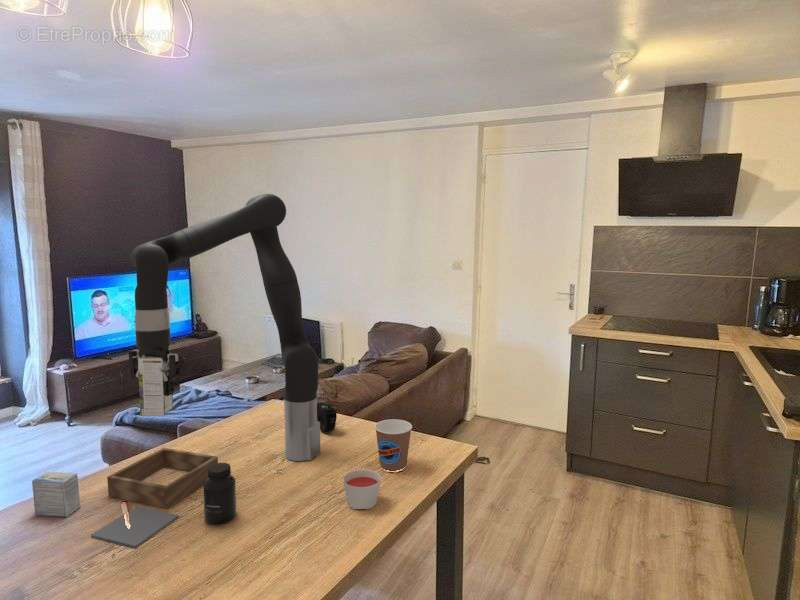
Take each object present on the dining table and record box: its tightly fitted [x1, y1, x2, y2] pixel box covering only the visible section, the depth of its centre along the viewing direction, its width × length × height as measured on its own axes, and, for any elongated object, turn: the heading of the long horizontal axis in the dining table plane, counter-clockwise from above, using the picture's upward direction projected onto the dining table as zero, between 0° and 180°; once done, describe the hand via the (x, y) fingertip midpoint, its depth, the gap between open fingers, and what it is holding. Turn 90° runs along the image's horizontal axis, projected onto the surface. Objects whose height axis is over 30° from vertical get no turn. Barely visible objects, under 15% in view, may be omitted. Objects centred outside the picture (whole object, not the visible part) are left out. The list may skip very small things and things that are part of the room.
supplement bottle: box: [203, 462, 237, 526], centre depth 112 cm, size 7×7×12 cm
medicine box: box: [31, 471, 81, 518], centre depth 114 cm, size 8×4×9 cm, turn 84°
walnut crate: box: [106, 447, 219, 510], centre depth 127 cm, size 18×18×5 cm
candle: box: [342, 468, 382, 510], centre depth 118 cm, size 9×9×6 cm
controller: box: [317, 402, 338, 433], centre depth 163 cm, size 4×12×10 cm, turn 32°
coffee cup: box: [374, 418, 413, 471], centre depth 137 cm, size 10×10×12 cm
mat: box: [90, 505, 180, 549], centre depth 108 cm, size 12×12×1 cm
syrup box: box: [138, 356, 174, 417], centre depth 121 cm, size 6×6×14 cm
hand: (156, 393), depth 122 cm, fingers closed on syrup box, 7 cm apart
